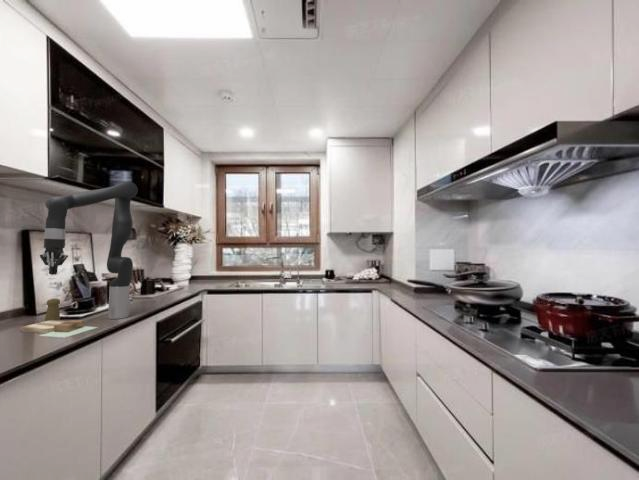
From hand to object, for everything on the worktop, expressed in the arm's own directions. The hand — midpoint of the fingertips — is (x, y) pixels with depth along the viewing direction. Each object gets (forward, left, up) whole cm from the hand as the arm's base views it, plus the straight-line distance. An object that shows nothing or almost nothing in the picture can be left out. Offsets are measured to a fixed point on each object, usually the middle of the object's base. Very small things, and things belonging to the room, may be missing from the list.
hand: (52, 274), depth 138 cm
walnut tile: (+2, +13, -23) cm, 27 cm away
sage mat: (+4, +16, -25) cm, 30 cm away
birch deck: (+2, +2, -25) cm, 25 cm away
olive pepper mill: (-11, -11, -25) cm, 30 cm away
